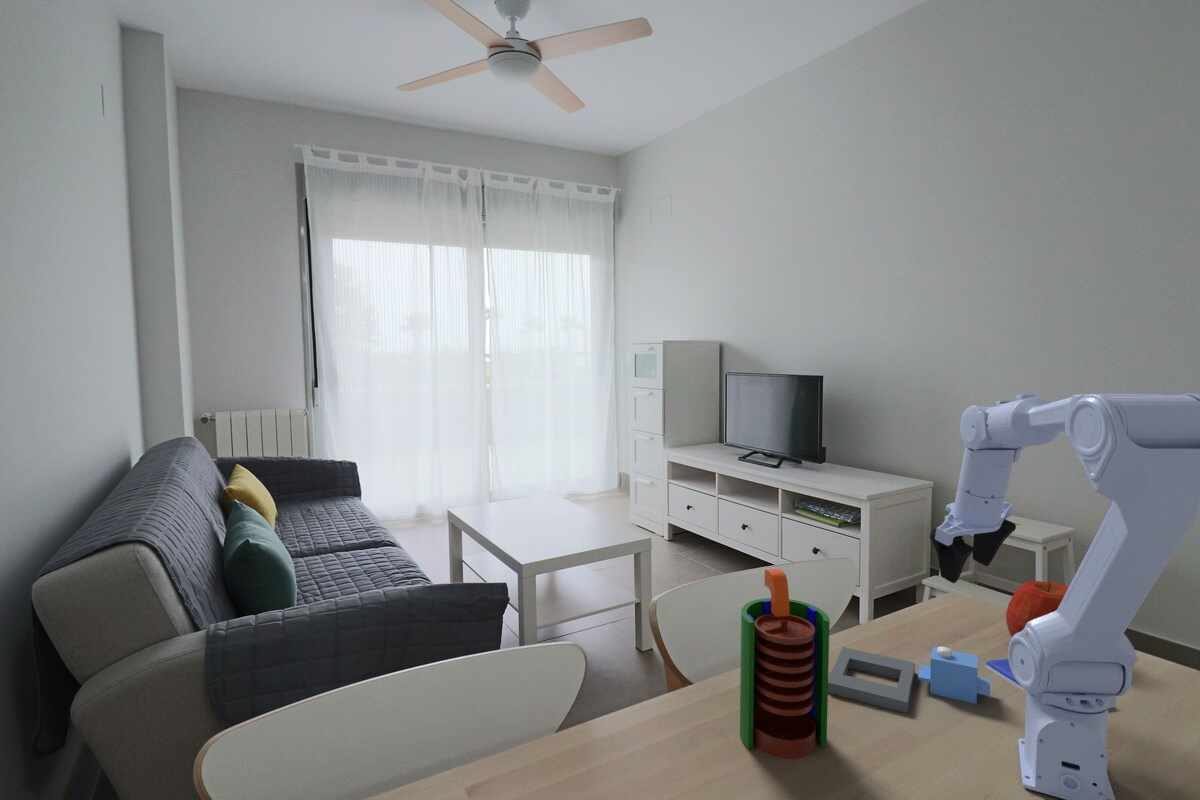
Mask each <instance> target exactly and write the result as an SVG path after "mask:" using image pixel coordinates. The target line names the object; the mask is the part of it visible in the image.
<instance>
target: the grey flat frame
mask: <svg viewBox="0 0 1200 800" xmlns="http://www.w3.org/2000/svg"><path fill="white" fill-rule="evenodd" d="M850 669H853V670H857V671H859V672H860V671H861V672H864V673H865V672H866V673H869V674H874V675H878V676H883V677H886V678H891V679H895V680H898V683H897V687H896V686H892V685H888V684H885V683H879V682H875V681H872V680H867V679H862V678H859V677H855V676H849V675H848V672H849V670H850ZM915 673H916V662H914V661H908V660H905V659H899V658H895V657H890V656H885V655H881V654H877V653H871V652H868V651H863V650H858V649H854V648H848V647H844V646H843V647H842V648H841V651H840V652H839V655H838V657H837V659H836V661H835V664H834V666H833V668H832V670H831V673H830V675H829V676H828V694H830V695H835V696H838V697H843V698H847V699H849V700H853V701H859V702H862V703H865V704H869V705H873V706H877V707H881V708H885V709H889V710H892V711H897V712H901V713H904V714H908V710H909V705H910V700H911V694H912V689H913V683H914V680H915V679H914V678H915Z"/></svg>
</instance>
